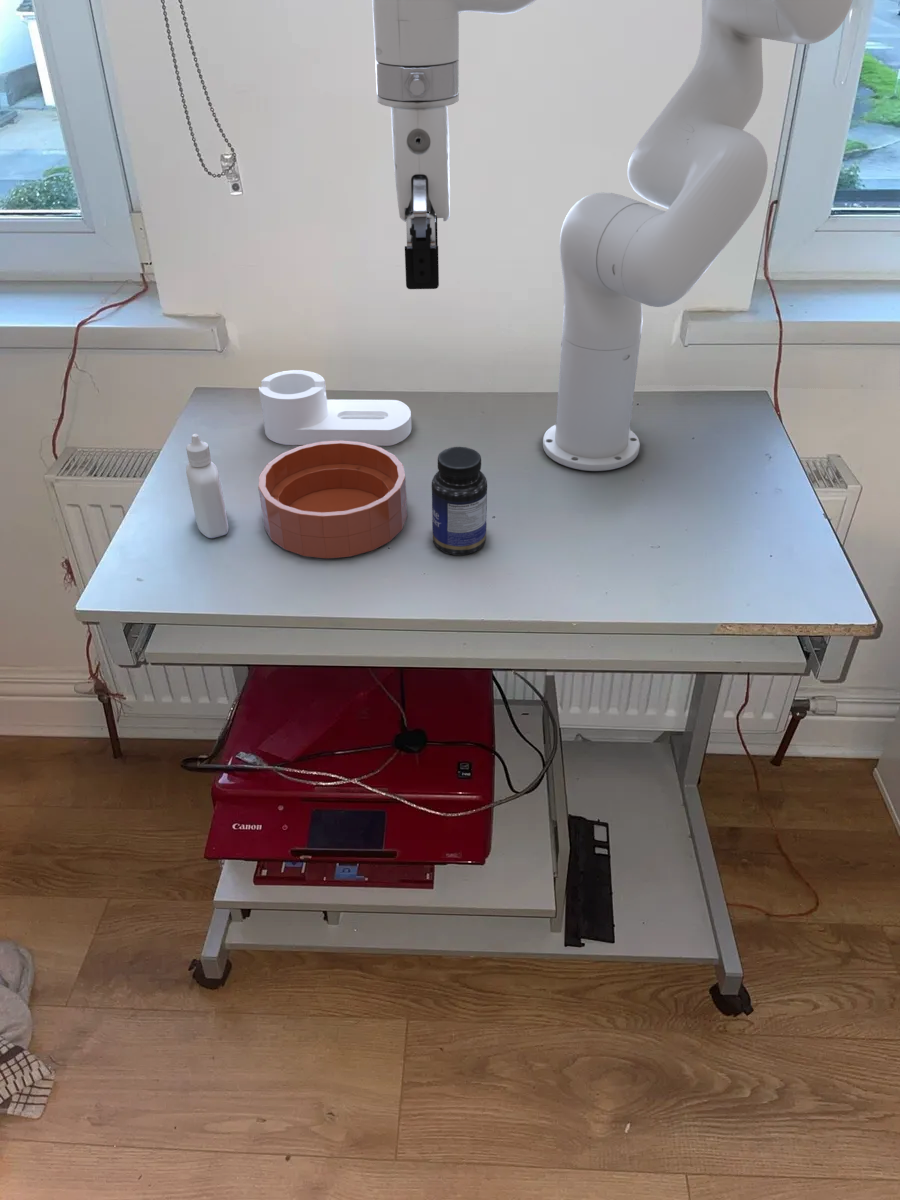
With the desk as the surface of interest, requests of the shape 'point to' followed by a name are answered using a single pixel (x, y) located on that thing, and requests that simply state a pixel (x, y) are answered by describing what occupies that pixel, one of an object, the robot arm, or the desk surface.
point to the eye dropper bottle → (205, 490)
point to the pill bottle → (459, 502)
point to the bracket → (327, 413)
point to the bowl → (333, 498)
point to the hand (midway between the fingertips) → (422, 270)
